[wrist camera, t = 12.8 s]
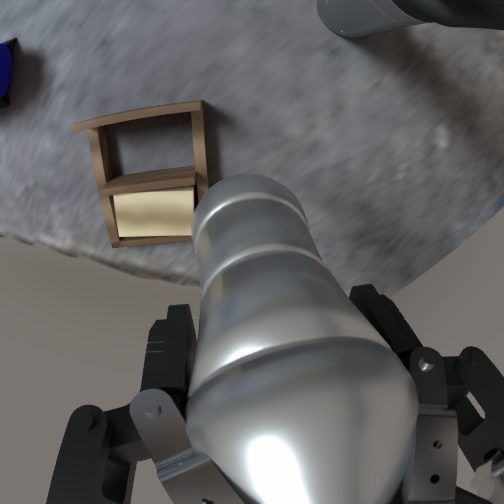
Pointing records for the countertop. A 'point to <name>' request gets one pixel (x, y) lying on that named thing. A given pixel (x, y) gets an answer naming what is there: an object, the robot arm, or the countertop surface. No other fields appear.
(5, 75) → the alarm clock
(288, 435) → the silver metal bottle
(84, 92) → the countertop surface
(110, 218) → the walnut rack
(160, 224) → the offcut top
